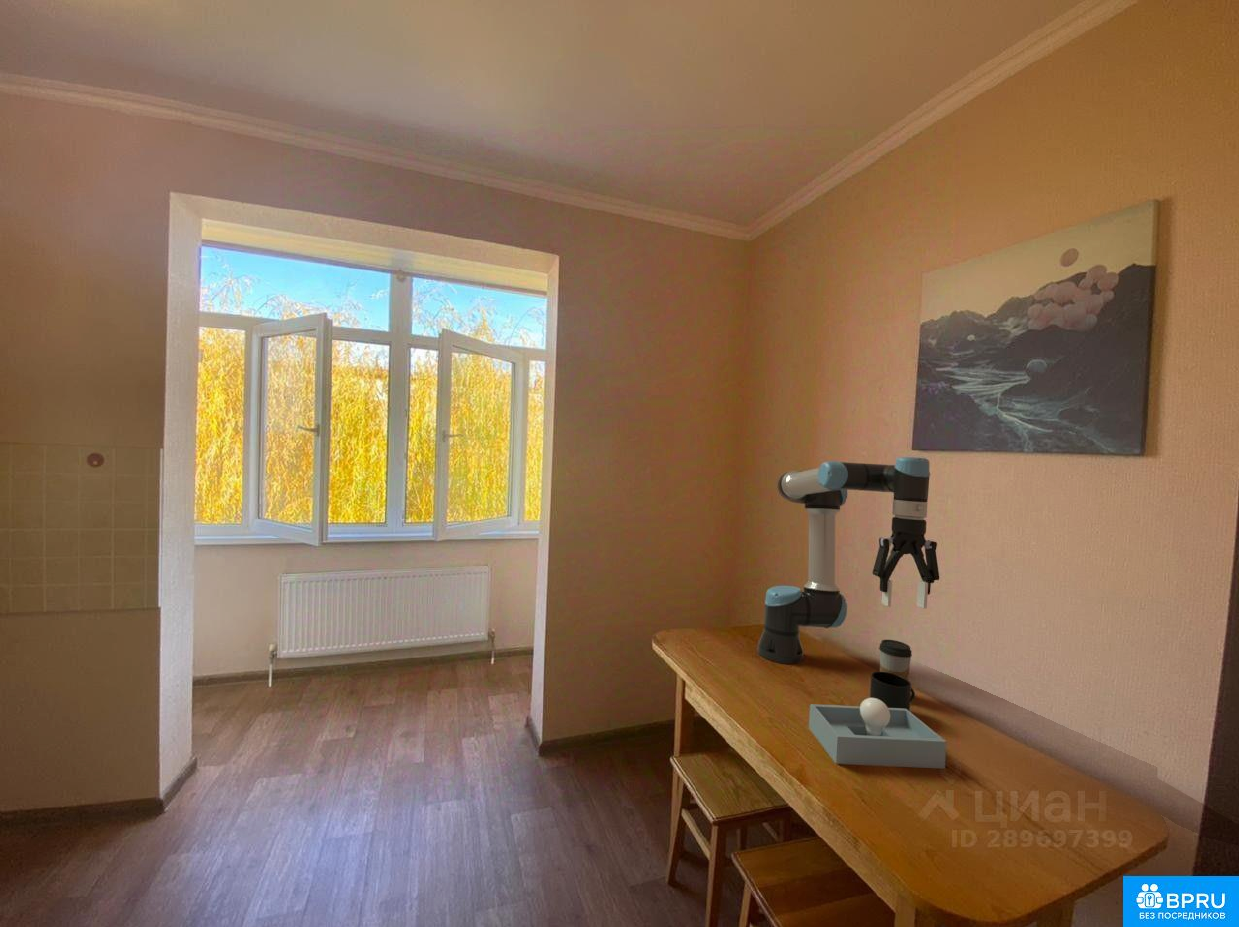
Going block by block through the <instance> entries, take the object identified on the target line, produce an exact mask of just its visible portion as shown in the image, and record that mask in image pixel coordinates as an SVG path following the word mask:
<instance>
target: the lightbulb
mask: <svg viewBox="0 0 1239 927" xmlns="http://www.w3.org/2000/svg"><path fill="white" fill-rule="evenodd" d="M860 714H861V717H862V719H863V721H864V722H865V725H866V730H867V736H880V735H881V733H882V730H883V728H884V727H885V726H886V725H887V724H888V723H889V721H890V711H889V709H888V707H887V706H886V704H885V703H884V702H882V701H881V700H879V699H877V698H870V697H867V698H865V699H864V700H862V702H861V703H860Z"/></svg>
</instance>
